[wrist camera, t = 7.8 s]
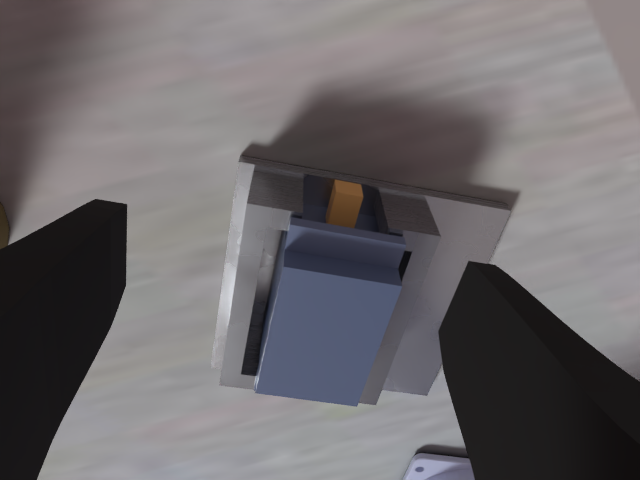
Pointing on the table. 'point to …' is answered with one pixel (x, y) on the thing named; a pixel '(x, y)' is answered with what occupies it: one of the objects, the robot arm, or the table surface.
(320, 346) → the blue-grey long block
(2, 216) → the cork
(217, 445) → the table surface
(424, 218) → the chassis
